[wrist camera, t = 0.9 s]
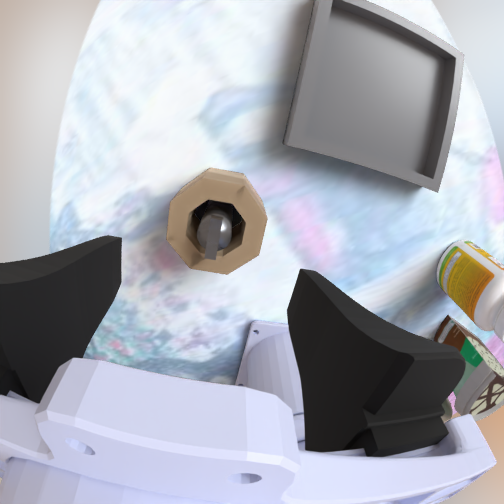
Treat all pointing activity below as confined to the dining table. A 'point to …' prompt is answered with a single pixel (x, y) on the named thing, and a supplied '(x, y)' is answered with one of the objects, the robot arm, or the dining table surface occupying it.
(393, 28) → the tray
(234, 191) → the ring
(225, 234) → the stake
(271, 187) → the dining table surface
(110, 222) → the dining table surface
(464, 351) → the food container
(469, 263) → the supplement bottle
